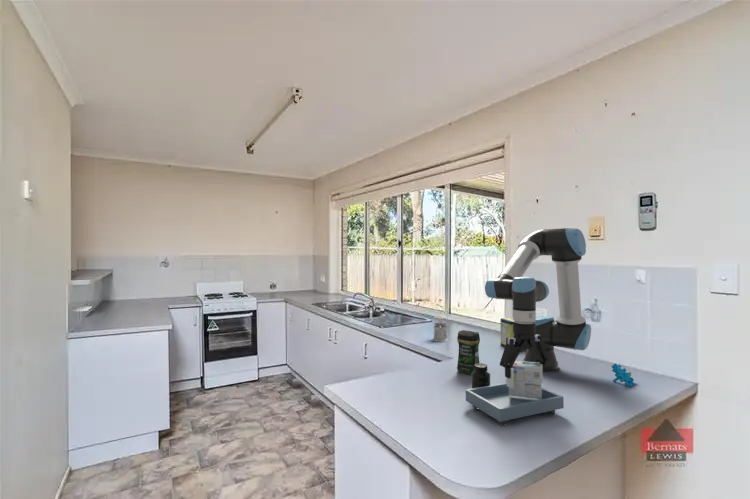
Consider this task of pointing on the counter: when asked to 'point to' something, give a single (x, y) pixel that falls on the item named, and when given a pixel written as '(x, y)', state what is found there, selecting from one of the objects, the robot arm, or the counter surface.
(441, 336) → the french press
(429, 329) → the counter surface
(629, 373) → the gear
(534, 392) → the light bulb box
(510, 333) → the protein box
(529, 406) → the tote
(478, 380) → the supplement bottle
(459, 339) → the coffee jar
